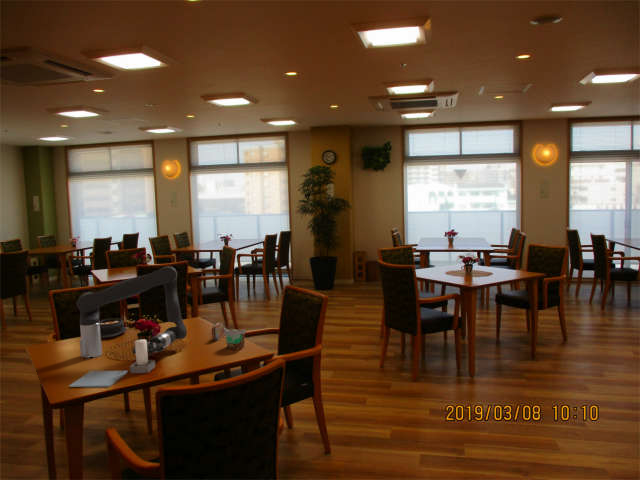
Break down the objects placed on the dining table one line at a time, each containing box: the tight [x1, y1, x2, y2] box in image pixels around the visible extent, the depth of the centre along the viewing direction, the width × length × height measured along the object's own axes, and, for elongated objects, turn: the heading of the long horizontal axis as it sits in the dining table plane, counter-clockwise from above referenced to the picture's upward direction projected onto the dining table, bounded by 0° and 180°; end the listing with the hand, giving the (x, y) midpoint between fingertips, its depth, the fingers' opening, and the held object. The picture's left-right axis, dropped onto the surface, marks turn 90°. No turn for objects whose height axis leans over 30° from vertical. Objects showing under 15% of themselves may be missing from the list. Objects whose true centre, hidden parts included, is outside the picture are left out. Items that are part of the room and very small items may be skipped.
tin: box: [211, 321, 227, 341], centre depth 284 cm, size 15×3×8 cm, turn 168°
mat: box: [68, 370, 129, 388], centre depth 224 cm, size 18×18×1 cm
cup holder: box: [129, 359, 156, 374], centre depth 235 cm, size 9×9×3 cm
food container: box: [224, 327, 246, 350], centre depth 262 cm, size 12×6×10 cm, turn 68°
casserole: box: [99, 317, 128, 339], centre depth 300 cm, size 25×19×8 cm
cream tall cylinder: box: [134, 338, 149, 366], centre depth 234 cm, size 5×5×14 cm
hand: (141, 352), depth 234 cm, fingers open, 8 cm apart
